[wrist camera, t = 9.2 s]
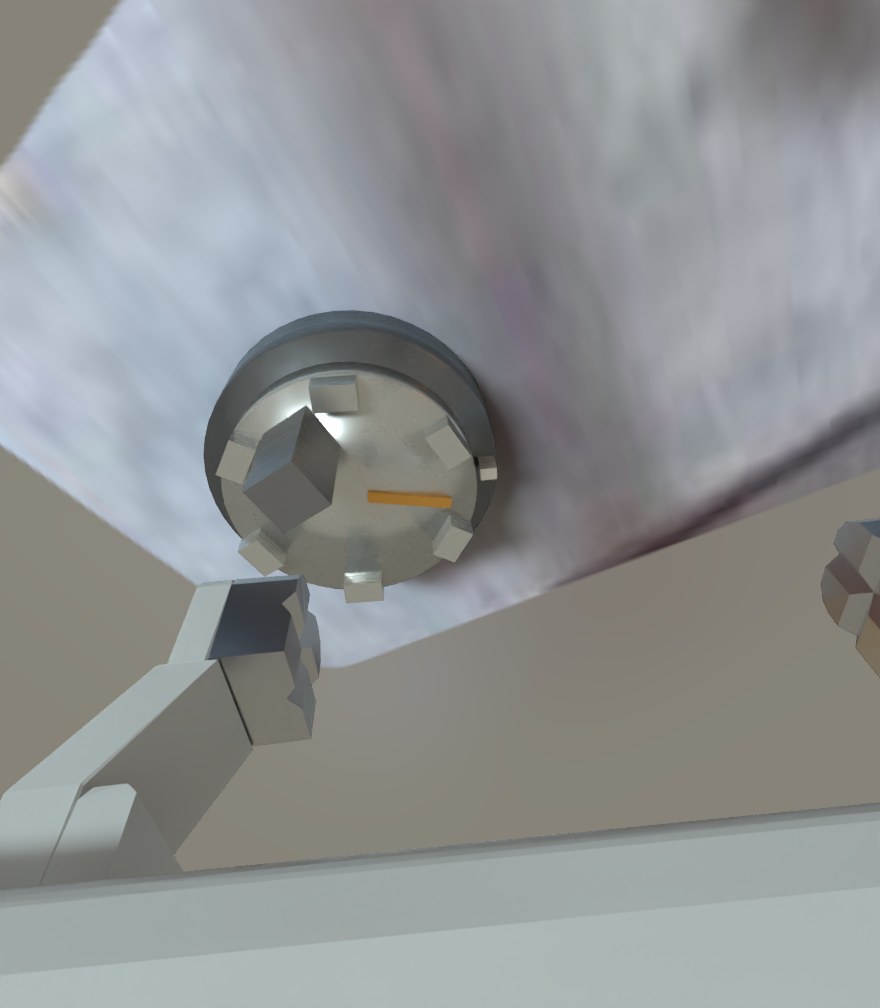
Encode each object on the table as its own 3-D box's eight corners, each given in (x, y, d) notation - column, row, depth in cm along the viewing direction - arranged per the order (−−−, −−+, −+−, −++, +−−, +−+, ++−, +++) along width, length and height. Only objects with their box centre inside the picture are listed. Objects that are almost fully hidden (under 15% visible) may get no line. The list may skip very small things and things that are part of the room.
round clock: (380, 309, 34) (377, 367, 28) (516, 501, 42) (539, 583, 35) (174, 449, 38) (128, 530, 32) (332, 602, 46) (321, 693, 39)
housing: (484, 296, 38) (496, 327, 34) (493, 536, 49) (503, 585, 44) (183, 325, 38) (154, 360, 34) (255, 559, 49) (240, 610, 44)
